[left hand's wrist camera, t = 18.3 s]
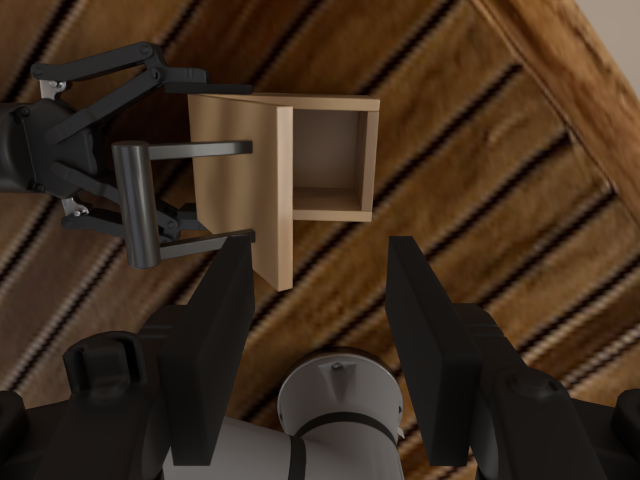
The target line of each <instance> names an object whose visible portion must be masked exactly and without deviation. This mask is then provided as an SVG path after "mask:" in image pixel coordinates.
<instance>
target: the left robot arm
mask: <svg viewBox="0 0 640 480" xmlns="http://www.w3.org/2000/svg"><path fill="white" fill-rule="evenodd" d="M254 311H255V299H254V283H253V266H252V250H251V236H228V237H227V238H226V240H225V242H224V243H223V245H222V247H221V248H220V250H219V252H218V253H217V255H216V257H215V259H214V260H213V262H212V264H211V265H210V267H209V269H208V270H207V272H206V274H205V275H204V277H203V279H202V280H201V282H200V284H199V285H198V287H197V289H196V290H195V292H194V294H193V295H192V297H191V299H190V300H189V302H188V304H187V305H165V306H164V307H162V308H161V309H159V310H158V311H156V312H155V313H153V314H152V315H151V316H150V317H149V319H148V320H147V322H146V323H145V324H144V326H143V329H141V330H140V331H139V333H138V334H137V335H136V334H134V333H131V332H127V331H109V332H104V333H99V334H95V335H92V336H90V337H87V338H85V339H82V340H80V341H79V342H77V343H76V344H74V345H73V346H71V347H70V348H69V349H68V350H67V351H66V352H65V353H64V354H63V355H62V357H63V361H64V365H65V368H66V372H67V376H68V380H69V384H70V388H71V392H72V394H71V396H70V398H69V400H66V401H62V402H58V403H54V404H49V405H44V406H40V407H35V408H30V409H25V406H24V403H23V399H22V397H20V396H19V395H18V394H17V393H16V392H10V391H0V480H404V476H403V472H402V467H401V462H400V458H399V454H398V449H397V440H398V434H399V435H401V436H402V437H403V438H404V434H403V430H401V429H400V428H399V425H400V422H401V418H402V411H403V399H402V394H401V390H400V386H399V383H398V380H397V378H396V376H395V374H394V373H393V371H392V370H391V369H390V368H389V367H388V365H387V364H385V363H384V362H383V361H382V360H380V359H379V358H377V357H376V356H374V355H372V354H370V353H368V352H365V351H362V350H358V349H353V348H344V347H337V348H328V349H323V350H319V351H316V352H314V353H311V354H309V355H307V356H305V357H304V358H302V359H300V360H299V361H298V362H296V363H295V364H294V365H293V366H292V367H291V368H290V369H289V371H288V372H287V373H286V375H285V376H284V378H283V380H282V383H281V386H280V390H279V397H278V415H279V419H280V423H281V426H282V428H283V430H284V432H285V433H283V432H279V431H276V430H272V429H269V428H265V427H262V426H259V425H255V424H252V423H248V422H245V421H241V420H238V419H235V418H231V417H228V416H224V415H225V412H226V408H227V405H228V401H229V398H230V394H231V391H232V387H233V384H234V380H235V377H236V373H237V370H238V366H239V363H240V359H241V356H242V352H243V349H244V345H245V342H246V338H247V335H248V332H249V328H250V325H251V321H252V318H253V314H254ZM385 311H386V314H387V318H388V321H389V325H390V328H391V332H392V335H393V338H394V342H395V345H396V349H397V352H398V356H399V359H400V363H401V366H402V370H403V373H404V377H405V380H406V384H407V387H408V391H409V394H410V398H411V401H412V405H413V408H414V412H415V415H416V419H417V422H418V426H419V429H420V433H421V436H422V440H423V443H424V447H425V450H426V454H427V457H428V461H429V464H430V466H466V465H467V459H468V452H469V446H470V447H471V449H472V451H473V454H474V456H475V459H476V461H477V464H478V466H477V471H476V477H475V480H640V389H631V390H625V391H624V392H623V393H621V394H620V395H619V396H618V399H617V403H616V406H615V408H614V407H609V406H605V405H600V404H595V403H590V402H586V401H581V400H578V399H574V398H570V395H569V393H568V392H567V390H566V389H565V388H564V386H563V385H562V384H561V383H560V382H559V381H557V380H556V379H555V378H553V377H552V376H550V375H548V374H546V373H544V372H542V371H540V370H537V369H534V368H530V367H528V366H527V365H526V364H525V362H524V361H523V360H522V358H521V357H520V355H519V354H518V353H517V351H516V350H515V349H514V347H513V346H512V345H511V343H510V342H509V340H508V339H507V338H506V337H504V334H503V332H502V331H501V329H500V328H499V327H497V324H496V323H495V321H494V320H493V318H492V317H491V316H490V314H489V313H487V312H486V311H484V310H483V309H481V308H480V307H478V306H477V305H475V304H474V303H452V302H451V300H450V299H449V297H448V295H447V294H446V292H445V290H444V289H443V287H442V285H441V284H440V282H439V280H438V279H437V277H436V275H435V274H434V272H433V270H432V269H431V267H430V265H429V264H428V262H427V260H426V259H425V257H424V255H423V253H422V252H421V250H420V248H419V247H418V245H417V243H416V242H415V240H414V238H413V237H412V236H389V250H388V266H387V283H386V299H385Z"/></svg>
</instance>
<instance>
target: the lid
mask: <svg viewBox="0 0 640 480" xmlns="http://www.w3.org/2000/svg"><path fill="white" fill-rule="evenodd" d="M188 107H189V119H190V132H191V142H182V143H162V144H148V143H147V142H145V141H119V142H114V143H112V144H111V147H112V154H113V161H114V168H115V175H116V182H117V189H118V196H119V202H120V209H121V216H122V223H123V230H124V237H125V244H126V251H127V258H128V264H129V266H130V267H132V268H135V269H147V268H152V267H155V266H157V265H159V264H160V263H161V261H162V260H163V259H169V258H174V257H180V256H185V255H190V254H196V253H201V252H207V251H212V250H217V249H220V248H221V247H222V245H223V243H224V242H225V240H226V238H227V237H228V236H251V250H252V266H253V269H254V270H255V271H256V272H257V273H258V274H259V275H260V276H261V277H263V278H264V279H265V280H266V281H267V282H268V283H269V284H271V285H272V286H273V287H274V288H275V289H276V290H277V291H282V290H286V289H290V288H292V258H293V106H289V105H281V104H273V103H265V102H257V101H249V100H241V99H233V98H225V97H217V96H209V95H200V94H188ZM180 158H193V170H194V182H195V195H196V208H197V220H198V221H199V222H200V223H201V224H203V225H204V226H205V227H206V228H207V229H208V230H209V231H210V232H212V233H213V234H214V235H208V236H202V237H195V238H189V239H183V240H177V241H171V242H165V243H160V240H159V231H158V223H157V214H156V205H155V196H154V188H153V179H152V170H151V161H150V160H165V159H180Z"/></svg>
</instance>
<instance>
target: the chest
mask: <svg viewBox="0 0 640 480" xmlns="http://www.w3.org/2000/svg"><path fill="white" fill-rule="evenodd" d="M200 95H209V96H217V97H225V98H233V99H241V100H249V101H257V102H265V103H273V104H281V105H289V106H293V220H324V221H363V222H371V217H372V203H373V189H374V175H375V161H376V147H377V133H378V119H379V112H378V111H379V105H380V99H377V98H374V97H370V96H367V95H332V94H295V93H259V92H252V94H249V95H238V94H200Z"/></svg>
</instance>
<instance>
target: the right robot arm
mask: <svg viewBox="0 0 640 480" xmlns="http://www.w3.org/2000/svg"><path fill="white" fill-rule="evenodd" d="M142 64H145V66H146V68H147V71H145V72H143V73H142V74H140V75H139V76H137V77H135V78H134V79H132V80H131V81H129V82H127V83H126V84H124V85H122V86H121V87H119V88H118V89H116V90H114V91H113V92H111V93H110V94H108V95H106V96H105V97H103V98H102V99H100V100H98V101H97V102H95V103H94V104H92V105H90V106H89V107H86V108H84V109H81V110H80V111H77V110H76V109H75V108H73V107H72V106H70V105H69V104H67V103H66V102H64V101H63V100H61V99H60V96H61V94H62V93H63V92H65V91H69V90H70V89H71V87H72V86H73V83H72V82H77V81H85V80H89V79H93V78H96V77H100V76H103V75H107V74H110V73H114V72H117V71H121V70H124V69H128V68H131V67H135V66H138V65H142ZM31 74H32V75H33V77H35V78H36V79H39V80H40V87H41V95H42V99H39V100H38V101H36V102H34V103H0V192H15V193H48V194H51V195H54V196H56V197H58V198H60V199H62V203H63V206H64V210H65V213H66V216H65V217H63V218H62V219H61V224H62V226H63V227H64V228H66V229H92V230H95V231H99V232H103V233H106V234H110V235H114V236H117V237H121V238H125V237H124V230H123V223H122V216H121V213H117V212H114V211H110V210H106V209H100V208H93V205H92V204H91V203H87V202H83V201H81V200H80V199H79V197H78V194H80V193H81V192H82V191H84V190H87V191H89V192H91V193H93V194H95V195H98V196H104V197H106V198H108V199H110V200H112V201H114V202H115V203H117V204H119V205H120V202H119V196H118V189H117V182H116V175H115V173H114V172H112V171H110V170H109V169H107V168H106V167H108V159H107V156H106V154H105V151H104V133H103V131H100V129H99V126H101V125H103V124H104V123H106V122H107V121H109V120H111V118H112V117H114V116H115V115H117V114H119V113H120V112H122V111H124V110H125V109H127V108H129V107H130V106H132V105H134V104H135V103H137V102H138V101H140V100H142V99H143V98H145V97H147V96H148V95H150V94H152V93H153V92H155V91H157V90H158V89H160V88H161V87H163V86H164V87H165V93H184V94H238V95H249V94H252V85H246V84H210V71H208V70H205V69H203V68H174V67H170V66H169V65H168V64H167V63H166V61H165V59H164V57H163V50H162V48H161V47H160V46H159V45H157V44H153V43H149V42H145V41H144V42H138V43H135V44H132V45H128V46H125V47H121V48H118V49H114V50H111V51H107V52H104V53H101V54H97V55H94V56H90V57H87V58H83V59H80V60H77V61H73V62H70V63H66V64H63V65H56V64H41V63H35V64H33V65H32V66H31ZM155 205H156V214H157V223H158V231H159V240H160V243H165V242H171V241H177V240H179V239H180V237H181V234H180V233H181V230H208V229H207V228H206V227H205V226H204V225H203V224H201V223H200V222H199V221H198V220H197V208H196V203H185V204H184V205H183V206H182V207H181V208H180V209H177V208H175V207H173V206H171V205H170V204H168V203H166V202H164V201H162V200H160V199H158V198H156V197H155Z"/></svg>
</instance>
